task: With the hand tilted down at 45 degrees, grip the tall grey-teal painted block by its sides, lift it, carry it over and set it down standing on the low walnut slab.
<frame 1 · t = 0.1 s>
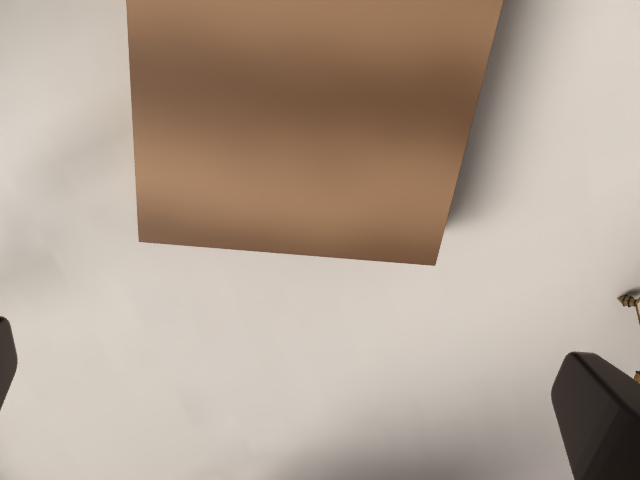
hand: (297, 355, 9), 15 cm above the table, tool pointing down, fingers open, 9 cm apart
walnut slab: (304, 87, 22), on the table
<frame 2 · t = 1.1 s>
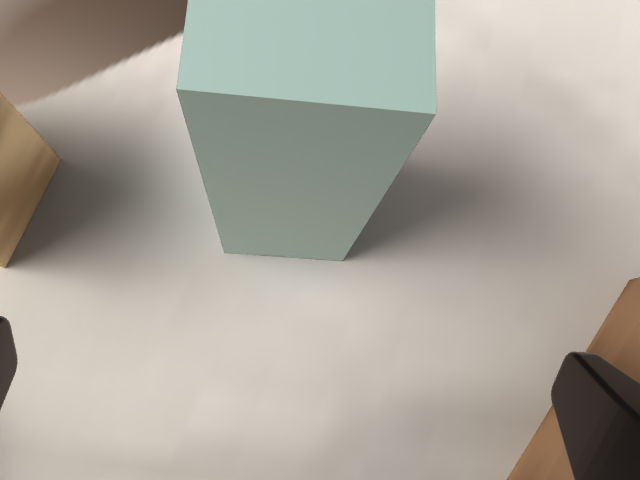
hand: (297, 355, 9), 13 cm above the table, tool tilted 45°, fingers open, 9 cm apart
teal block: (287, 201, 24), on the table
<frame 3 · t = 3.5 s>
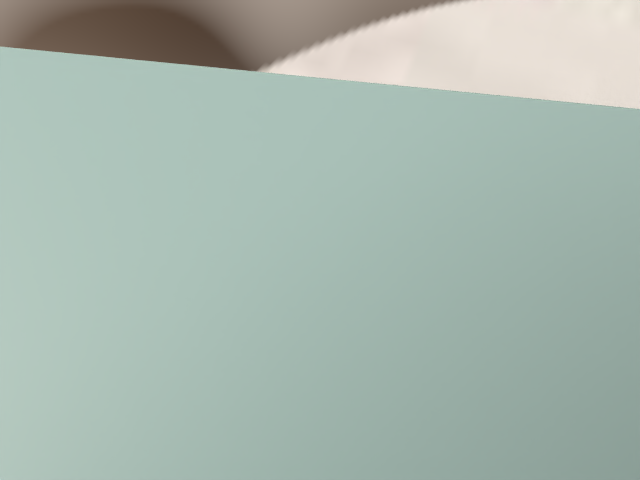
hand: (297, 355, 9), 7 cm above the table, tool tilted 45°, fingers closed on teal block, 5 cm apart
teal block: (278, 422, 15), on the table, touching gripper
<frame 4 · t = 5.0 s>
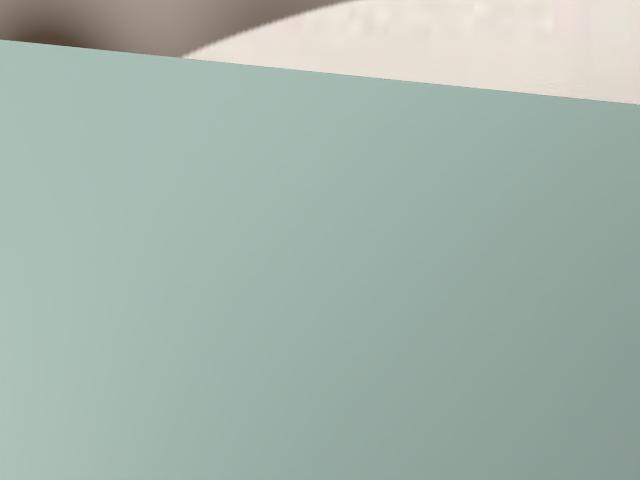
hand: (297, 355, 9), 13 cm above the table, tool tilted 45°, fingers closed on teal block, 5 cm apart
teal block: (282, 420, 15), point 7 cm above the table, touching gripper
when the fingers open (11 cm above the table, at t = 6.6 s): teal block drops 2 cm, resting on walnut slab.
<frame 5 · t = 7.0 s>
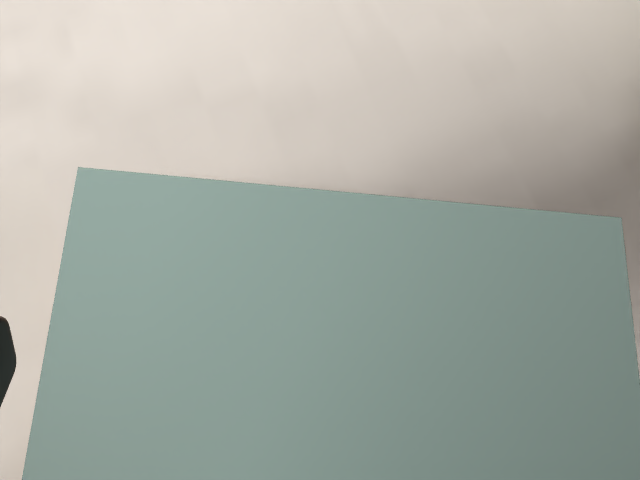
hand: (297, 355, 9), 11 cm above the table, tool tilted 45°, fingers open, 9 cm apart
teal block: (271, 415, 17), point 2 cm above the table, touching walnut slab
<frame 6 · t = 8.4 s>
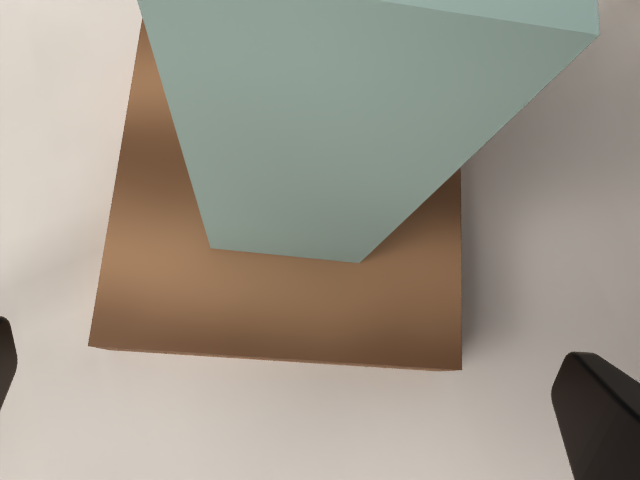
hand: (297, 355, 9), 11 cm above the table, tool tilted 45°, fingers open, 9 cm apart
walnut slab: (289, 208, 22), on the table
teal block: (292, 185, 19), point 2 cm above the table
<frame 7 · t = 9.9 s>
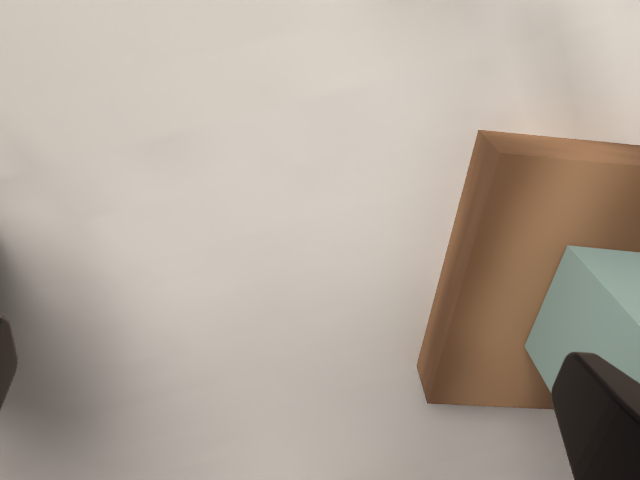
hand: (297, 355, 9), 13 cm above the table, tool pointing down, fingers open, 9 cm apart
walnut slab: (568, 265, 25), on the table, touching teal block
teal block: (602, 303, 22), point 2 cm above the table, touching walnut slab
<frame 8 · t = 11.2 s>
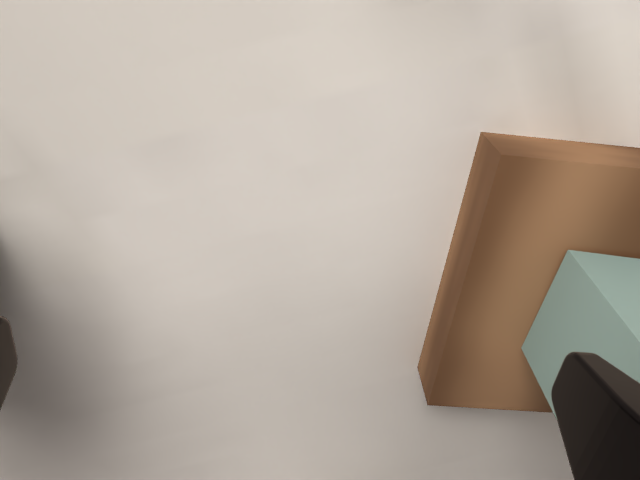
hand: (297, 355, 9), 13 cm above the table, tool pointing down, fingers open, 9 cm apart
walnut slab: (570, 268, 25), on the table, touching teal block
teal block: (601, 308, 22), point 2 cm above the table, touching walnut slab
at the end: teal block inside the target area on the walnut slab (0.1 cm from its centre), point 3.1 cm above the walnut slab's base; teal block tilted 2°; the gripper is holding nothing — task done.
